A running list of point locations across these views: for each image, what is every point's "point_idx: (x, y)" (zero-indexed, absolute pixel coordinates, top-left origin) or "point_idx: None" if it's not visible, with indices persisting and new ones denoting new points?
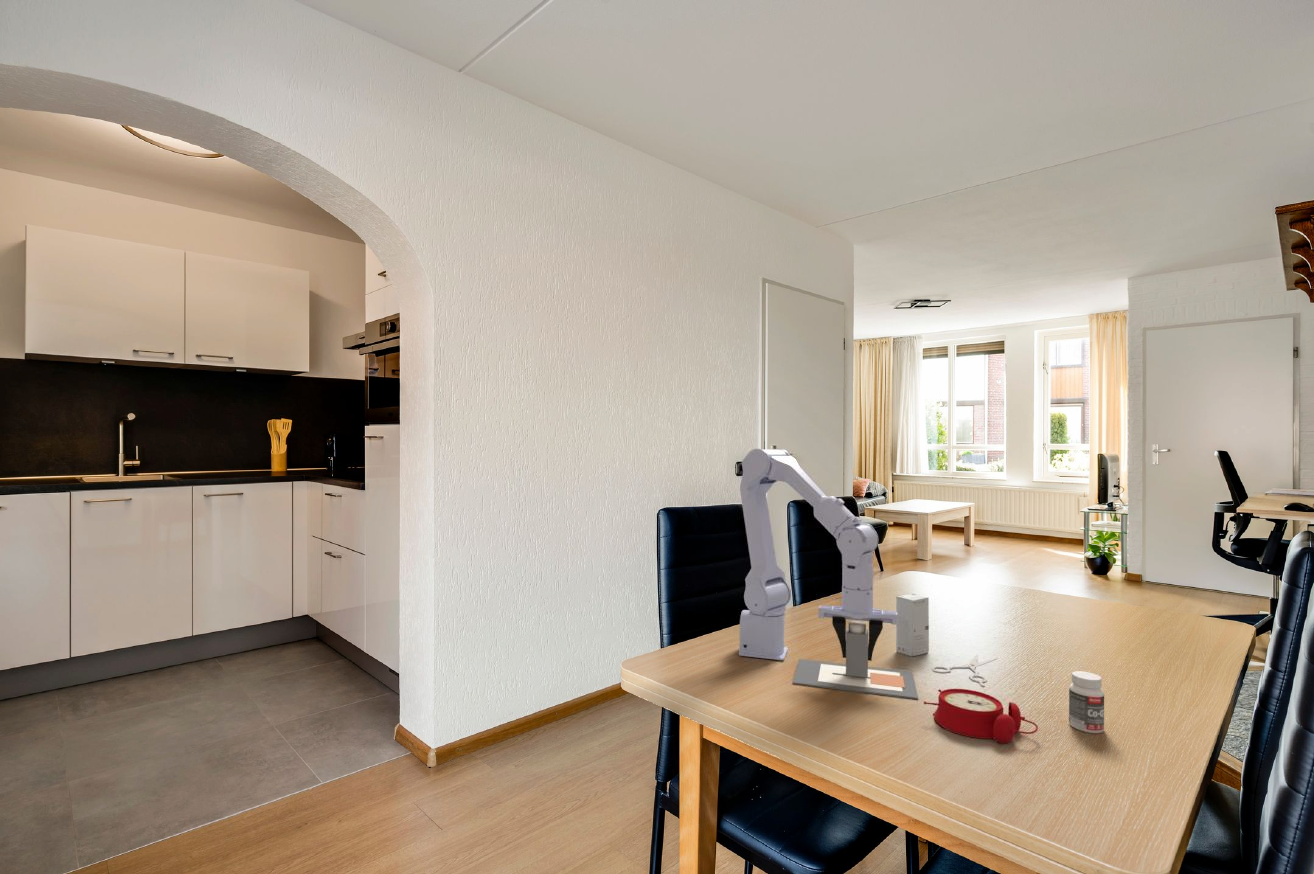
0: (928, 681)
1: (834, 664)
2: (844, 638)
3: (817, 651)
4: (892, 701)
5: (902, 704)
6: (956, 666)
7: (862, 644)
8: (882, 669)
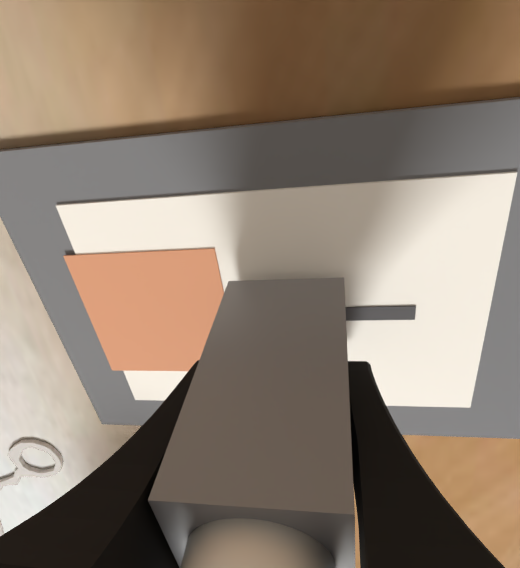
0: (30, 364)
1: (402, 417)
2: (367, 468)
3: (470, 519)
4: (64, 59)
5: (5, 35)
6: (9, 484)
7: (216, 425)
8: None
